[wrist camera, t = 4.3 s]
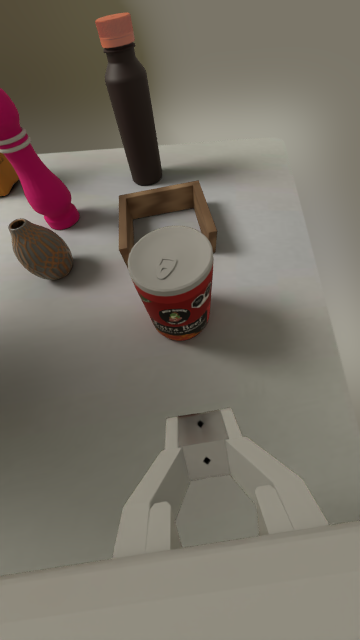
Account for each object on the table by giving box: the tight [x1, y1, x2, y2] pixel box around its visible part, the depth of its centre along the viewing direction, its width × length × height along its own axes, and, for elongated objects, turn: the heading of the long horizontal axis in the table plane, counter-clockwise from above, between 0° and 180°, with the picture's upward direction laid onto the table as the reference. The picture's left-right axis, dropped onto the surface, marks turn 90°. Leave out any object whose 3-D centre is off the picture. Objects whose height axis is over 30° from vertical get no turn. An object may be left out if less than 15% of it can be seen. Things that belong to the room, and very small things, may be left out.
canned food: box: [128, 226, 213, 341], centre depth 22 cm, size 8×8×11 cm
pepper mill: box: [0, 88, 79, 230], centre depth 31 cm, size 7×7×20 cm
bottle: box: [96, 13, 162, 185], centre depth 36 cm, size 7×7×20 cm
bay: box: [119, 181, 217, 267], centre depth 33 cm, size 14×14×4 cm
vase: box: [8, 218, 73, 280], centre depth 29 cm, size 7×7×9 cm
